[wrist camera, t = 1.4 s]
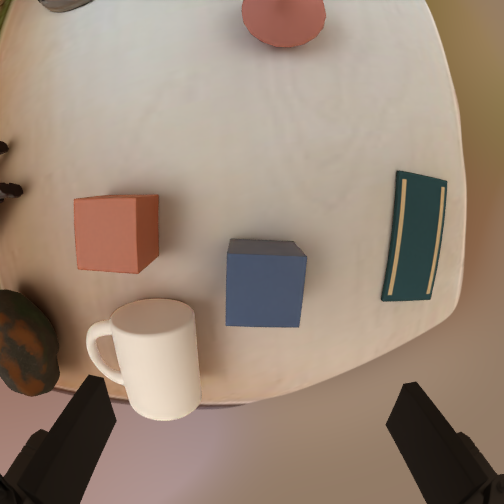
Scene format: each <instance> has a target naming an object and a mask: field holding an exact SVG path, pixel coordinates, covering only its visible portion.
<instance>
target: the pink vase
mask: <svg viewBox="0 0 504 504" xmlns="http://www.w3.org/2000/svg"><path fill="white" fill-rule="evenodd" d="M242 16H243V22H244V24H245V26H246V27H247V29H248V30H249V32H250V33H251V34H252V35H253V36H255V37H256V38H257V39H259V40H260V41H261V42H264V43H267V44H270V45H272V46H275V47H294V46H299V45H303V44H305V43H307V42H309V41H310V40H312V39H314V38H315V37H316V36H317V35H318V34H319V32H320V31H321V30H322V29H323V27H324V23H325V19H326V13H325V8H324V3H323V0H244V1H243V4H242Z"/></svg>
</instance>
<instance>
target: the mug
mask: <svg viewBox="0 0 504 504" xmlns="http://www.w3.org/2000/svg"><path fill="white" fill-rule="evenodd" d="M105 335H112V337H113V341H114V346H115V350H116V354H117V358H118V363H119V366H120V370H121V371H117V370H115V369H113V368H111V367H109V366H108V365H107V364H106V363H105V362H104V361H103V359H102V357H101V355H100V353H99V351H98V348H97V344H96V339H97V338H98V337H100V336H105ZM86 346H87V350H88V353H89V356H90V358H91V360H92V361H93V363H94V364H95V365H96V367H97V368H98V369H99V370H100V371H101V372H102V373H103V374H104V375H105V376H106V377H108V378H109V379H111V380H112V381H114V382H116V383H118V384H121V385H124V386H125V388H126V392H127V395H128V398H129V402H130V404H131V406H132V408H133V409H134V410H135V411H136V412H137V413H139V414H140V415H142V416H144V417H146V418H149V419H153V420H159V421H168V420H175V419H178V418H182V417H184V416H186V415H188V414H189V413H191V412H193V411H194V410H195V409H196V408H197V407H198V405H199V404H200V401H201V398H202V390H201V381H200V371H199V361H198V350H197V338H196V325H195V314H194V311H193V309H192V308H191V307H190V306H188V305H187V304H185V303H182V302H180V301H176V300H171V299H144V300H139V301H134V302H131V303H128V304H125V305H123V306H121V307H120V308H118V309H117V310H115V311H114V312H113V314H112V315H111V317H110V320H103V321H99V322H96V323H94V324H93V325H92V326H91V327H90V328H89V330H88V332H87V336H86Z"/></svg>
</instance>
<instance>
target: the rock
mask: <svg viewBox="0 0 504 504" xmlns="http://www.w3.org/2000/svg"><path fill="white" fill-rule="evenodd" d="M58 350H59V343H58V339H57V335H56V333H55V330H54V328H53V326H52V325H51V323H50V321H49V320H48V318H47V317H46V316H45V315H44V314H43V313H42V311H41V310H40V309H39V308H38V307H37V306H35V305H34V304H33V303H32V302H31V301H30V300H29V299H28V298H27V297H25V296H24V295H23V294H21V293H19V292H15V291H11V290H0V377H1V378H2V379H3V381H4V382H5V384H6V385H7V386H8V387H9V388H10V389H11V390H13V391H15V392H18V393H21V394H24V395H27V396H31V397H32V396H38V395H41V394H44V393H47V392H49V391H51V390H52V389H53V388H54V386H55V385H56V383H57V381H58V379H59V376H60V371H59V366H58V361H57V353H58Z"/></svg>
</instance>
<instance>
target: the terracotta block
mask: <svg viewBox="0 0 504 504" xmlns="http://www.w3.org/2000/svg"><path fill="white" fill-rule="evenodd" d="M158 210H159V195H103V196H94V197H86V198H78V199H74V227H75V244H76V256H77V266H78V269H80V270H92V271H105V272H119V273H133V274H139V273H140V272H141V271H142V270H143V269H144V268H146V267H147V266H148V265H149V264H150V263H151V262H152V261H153V260H155V259H156V258H157V257H158V256H159V233H158Z"/></svg>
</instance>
